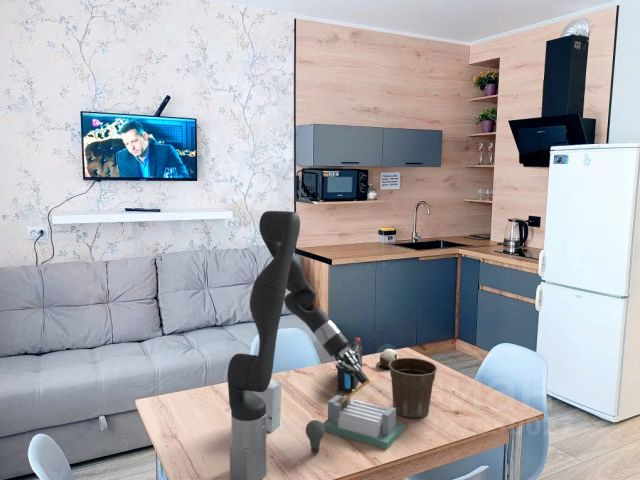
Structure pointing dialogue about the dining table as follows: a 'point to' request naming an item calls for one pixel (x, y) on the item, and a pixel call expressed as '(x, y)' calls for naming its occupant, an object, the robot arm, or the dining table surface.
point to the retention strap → (357, 389)
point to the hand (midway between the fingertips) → (365, 381)
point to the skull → (387, 358)
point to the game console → (344, 380)
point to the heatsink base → (363, 422)
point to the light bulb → (315, 434)
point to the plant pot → (412, 386)
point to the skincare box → (272, 404)
